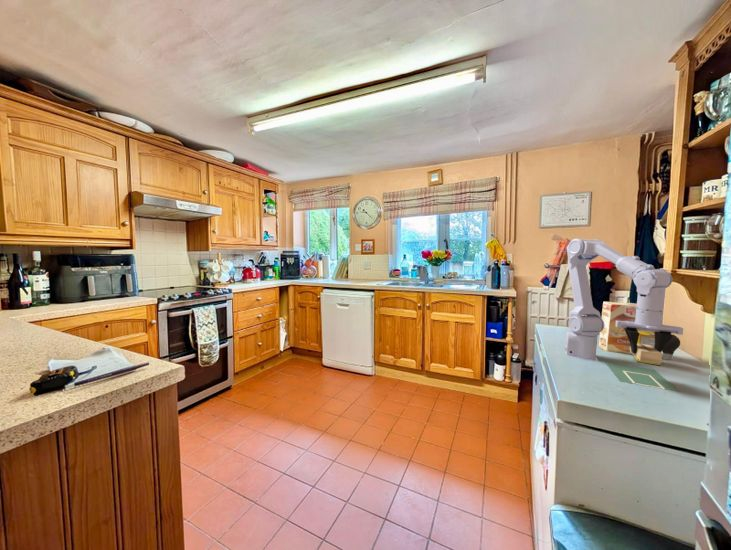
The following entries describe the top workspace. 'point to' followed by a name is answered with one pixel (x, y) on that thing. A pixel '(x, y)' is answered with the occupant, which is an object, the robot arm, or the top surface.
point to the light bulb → (671, 347)
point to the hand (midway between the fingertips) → (644, 354)
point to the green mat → (640, 376)
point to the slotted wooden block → (647, 354)
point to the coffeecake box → (614, 336)
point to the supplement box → (646, 343)
